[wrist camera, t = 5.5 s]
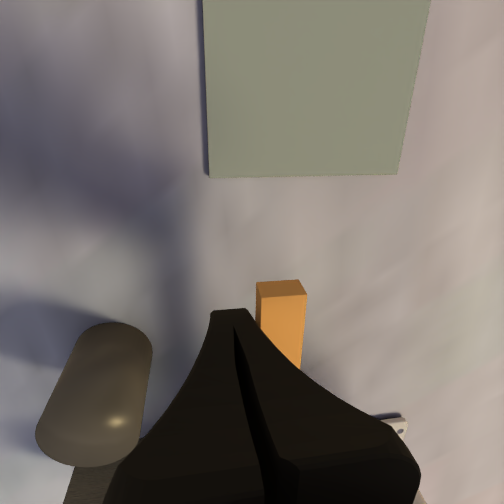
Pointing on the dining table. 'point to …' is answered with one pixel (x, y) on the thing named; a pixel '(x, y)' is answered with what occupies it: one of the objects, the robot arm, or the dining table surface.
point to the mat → (309, 85)
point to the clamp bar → (282, 315)
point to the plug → (98, 398)
